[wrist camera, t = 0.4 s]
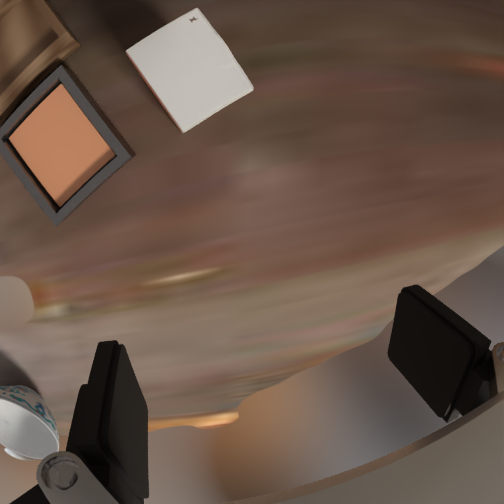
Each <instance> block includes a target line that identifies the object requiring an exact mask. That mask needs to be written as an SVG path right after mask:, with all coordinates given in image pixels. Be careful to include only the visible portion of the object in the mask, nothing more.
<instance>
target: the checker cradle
mask: <svg viewBox="0 0 504 504" xmlns="http://www.w3.org/2000/svg"><path fill="white" fill-rule="evenodd" d="M61 83H62V84H63V85H64V86H65V88H66V89H67V90H68V92H69V93H70V94H71V96H72V97H73V98H74V100H75V101H76V102H77V104H78V105H79V106H80V108H81V109H82V110H83V112H84V113H85V114H86V116H87V117H88V118H89V120H90V121H91V122H92V124H93V125H94V126H95V128H96V129H97V130H98V131H99V133H100V134H101V135H102V137H103V138H104V139H105V141H106V142H107V143H108V144H109V146H110V147H111V148H112V150H113V151H114V152H115V153H116V156H115V157H114V158H113V159H111V160H110V161H109V162H108V163H107V164H106V165H105V166H104V167H102V168H101V169H100V170H99V171H98V172H97V173H96V174H95V175H94V176H93V177H92V178H90V179H89V180H88V181H87V182H86V183H85V184H84V185H83V186H82V187H81V188H80V189H79V190H78V191H77V192H76V193H75V194H74V195H73V196H72V197H71V198H70V199H69V200H68V201H67V202H66V203H65V204H64V205H63V206H61V207H59V205H58V204H57V203H56V202H55V200H54V199H53V198H52V197H51V195H50V194H49V193H48V191H47V190H46V189H45V188H44V186H43V185H42V184H41V182H40V181H39V180H38V178H37V177H36V176H35V174H34V173H33V172H32V170H31V169H30V168H29V166H28V165H27V164H26V162H25V161H24V159H23V158H22V157H21V155H20V154H19V152H18V151H17V150H16V148H15V147H14V145H13V144H12V142H11V141H10V139H9V137H10V136H11V135H12V134H13V133H14V132H15V130H16V129H17V128H18V127H19V126H20V125H21V124H22V123H23V122H24V120H25V119H26V118H27V117H28V116H29V115H30V114H31V113H32V112H33V111H34V110H35V109H36V108H37V107H38V106H39V105H40V104H41V103H42V102H43V101H44V100H45V99H46V98H47V97H48V96H49V95H50V94H51V93H52V92H53V91H54V90H55V89H56V88H57V87H58V86H59V85H60V84H61ZM0 153H1V154H2V156H3V157H4V159H5V160H6V162H7V163H8V164H9V166H10V167H11V169H12V170H13V171H14V173H15V174H16V176H17V177H18V178H19V180H20V181H21V182H22V184H23V185H24V186H25V188H26V189H27V190H28V192H29V193H30V194H31V196H32V197H33V198H34V200H35V201H36V202H37V203H38V205H39V206H40V207H41V209H42V210H43V211H44V212H45V214H46V215H47V216H48V217H49V218H50V220H51V221H52V222H53V223H54V225H55V226H56V227H57V226H58V225H59V224H60V223H61V222H63V221H64V220H65V219H66V218H67V217H68V216H69V215H70V214H71V213H72V212H73V211H74V210H75V209H76V208H77V207H78V206H79V205H81V204H82V203H83V202H84V201H85V200H86V199H87V198H88V197H89V196H90V195H91V194H92V193H93V192H94V191H95V190H96V189H97V188H99V187H100V186H101V185H102V184H103V183H104V182H105V181H106V180H107V179H109V178H110V177H111V176H112V175H113V174H114V173H115V172H116V171H118V170H119V169H120V168H121V167H122V166H123V165H125V164H126V163H127V162H128V161H129V160H130V159H132V158H133V157H134V156H135V155H136V154H135V152H134V151H133V150H132V148H131V147H130V146H129V145H128V143H127V142H126V141H125V140H124V138H123V137H122V136H121V134H120V133H119V132H118V131H117V129H116V128H115V127H114V125H113V124H112V123H111V121H110V120H109V119H108V118H107V116H106V115H105V114H104V112H103V111H102V110H101V108H100V107H99V106H98V104H97V103H96V102H95V101H94V99H93V98H92V97H91V95H90V94H89V93H88V91H87V90H86V89H85V87H84V86H83V85H82V83H81V82H80V81H79V79H78V78H77V77H76V75H75V74H74V73H73V71H71V70H69V69H68V68H66V67H64V66H62V65H61V66H59V67H58V68H57V69H56V70H55V71H54V72H53V73H52V74H51V75H50V76H49V77H48V78H47V79H45V80H44V81H43V82H42V83H41V84H40V85H39V86H38V87H37V88H36V89H35V90H34V91H33V92H32V93H31V94H30V95H29V97H28V98H27V99H26V100H25V101H24V102H23V103H22V104H21V105H20V106H19V107H18V108H17V109H16V111H15V112H14V113H13V114H12V115H11V116H10V117H9V118H8V120H7V121H6V122H5V123H4V124H3V126H2V127H1V128H0Z"/></svg>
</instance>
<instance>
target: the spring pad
mask: <svg viewBox="0 0 504 504" xmlns="http://www.w3.org/2000/svg"><path fill="white" fill-rule="evenodd" d="M9 139H10V141H11V142H12V144H13V145H14V147H15V148H16V150H17V151H18V152H19V154H20V155H21V157H22V158H23V159H24V161H25V162H26V164H27V165H28V166H29V168H30V169H31V170H32V172H33V173H34V174H35V176H36V177H37V178H38V180H39V181H40V182H41V184H42V185H43V186H44V188H45V189H46V190H47V191H48V193H49V194H50V195H51V197H52V198H53V199H54V200H55V202H56V203H57V204H58V205H59V207H61V206H63V205H64V204H65V203H66V202H67V201H68V200H69V199H70V198H71V197H72V196H73V195H74V194H75V193H76V192H77V191H78V190H79V189H80V188H81V187H82V186H83V185H84V184H85V183H86V182H87V181H88V180H89V179H90V178H92V177H93V176H94V175H95V174H96V173H97V172H98V171H99V170H100V169H101V168H102V167H104V166H105V165H106V164H107V163H108V162H109V161H110V160H111V159H113V158H114V157H115V156H116V153H115V152H114V151H113V150H112V148H111V147H110V146H109V144H108V143H107V142H106V141H105V139H104V138H103V137H102V135H101V134H100V133H99V131H98V130H97V129H96V128H95V126H94V125H93V124H92V122H91V121H90V120H89V118H88V117H87V116H86V114H85V113H84V112H83V110H82V109H81V108H80V106H79V105H78V104H77V102H76V101H75V100H74V98H73V97H72V96H71V94H70V93H69V92H68V90H67V89H66V88H65V86H64V85H63V84H62V83H61V84H60V85H59V86H58V87H57V88H56V89H55V90H54V91H53V92H52V93H51V94H50V95H49V96H48V97H47V98H46V99H45V100H44V101H43V102H42V103H41V104H40V105H39V106H38V107H37V108H36V109H35V110H34V111H33V112H32V113H31V114H30V115H29V116H28V117H27V118H26V119H25V120H24V122H23V123H22V124H21V125H20V126H19V127H18V128H17V129H16V130H15V132H14V133H13V134H12V135H11V136H10V137H9Z"/></svg>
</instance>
